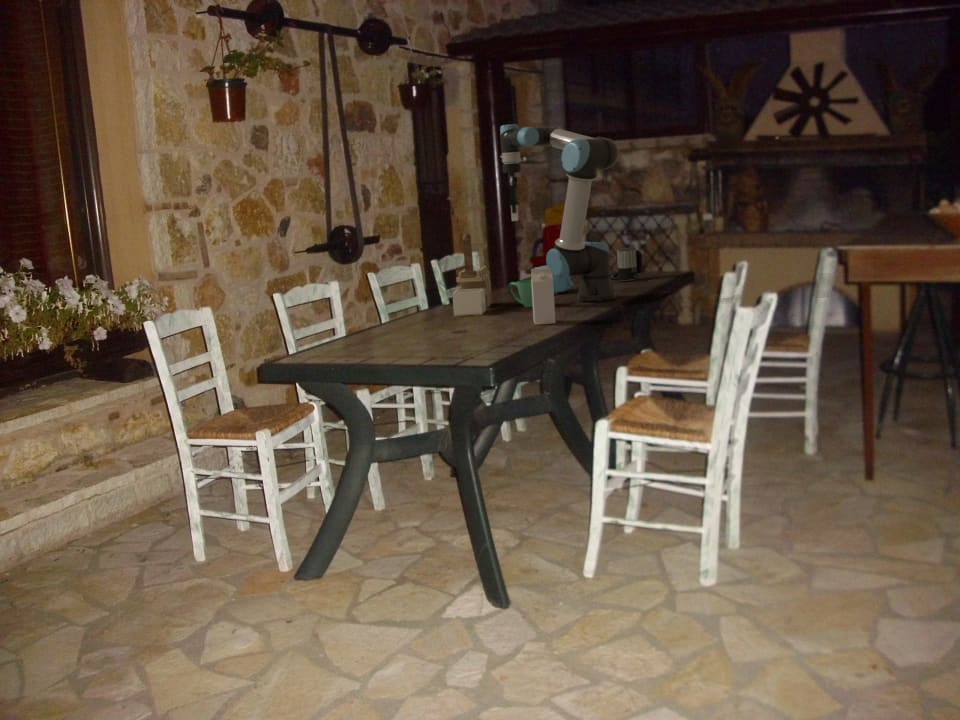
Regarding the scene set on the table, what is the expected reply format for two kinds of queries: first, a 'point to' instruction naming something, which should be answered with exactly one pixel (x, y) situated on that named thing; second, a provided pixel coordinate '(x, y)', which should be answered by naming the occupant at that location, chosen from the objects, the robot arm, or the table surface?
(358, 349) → the table surface
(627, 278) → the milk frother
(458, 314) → the beige cardboard cube
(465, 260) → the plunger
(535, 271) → the milk carton
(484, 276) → the launcher
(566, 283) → the decorative pot
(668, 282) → the table surface
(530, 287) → the mug
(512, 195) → the robot arm
